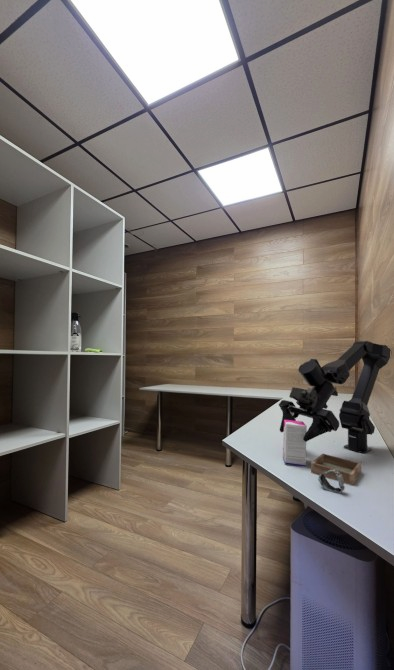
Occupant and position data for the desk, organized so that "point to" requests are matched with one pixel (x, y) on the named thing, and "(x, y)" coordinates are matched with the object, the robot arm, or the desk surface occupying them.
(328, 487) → the wristwatch
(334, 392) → the robot arm
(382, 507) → the desk surface
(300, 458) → the supplement box
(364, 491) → the desk surface
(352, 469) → the square wooden tray
